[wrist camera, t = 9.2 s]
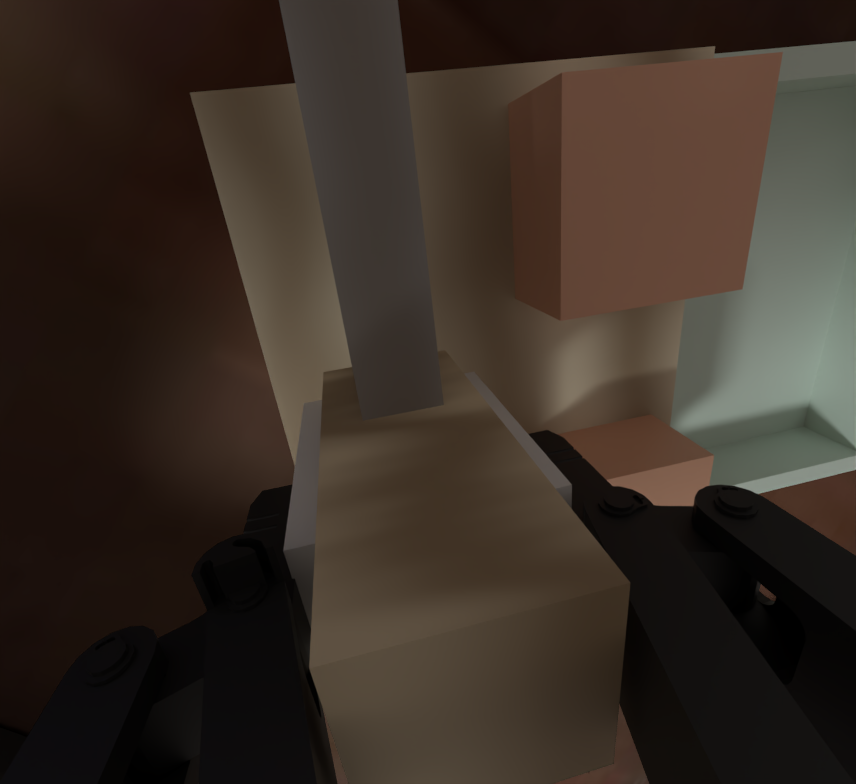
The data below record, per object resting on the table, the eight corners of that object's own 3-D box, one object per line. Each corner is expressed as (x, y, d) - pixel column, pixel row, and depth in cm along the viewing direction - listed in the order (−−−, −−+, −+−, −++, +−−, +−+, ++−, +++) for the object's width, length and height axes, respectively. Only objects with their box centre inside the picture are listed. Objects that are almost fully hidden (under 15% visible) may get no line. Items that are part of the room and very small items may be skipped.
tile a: (524, 551, 21) (559, 613, 18) (520, 442, 18) (559, 490, 15) (640, 523, 22) (693, 577, 18) (651, 414, 19) (714, 455, 16)
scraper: (383, 632, 19) (429, 1022, 10) (254, 69, 11) (-134, -623, 2) (472, 608, 19) (595, 957, 10) (413, 55, 11) (733, -529, 2)
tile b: (515, 298, 16) (560, 321, 13) (508, 104, 14) (561, 72, 10) (665, 274, 17) (742, 289, 14) (683, 86, 14) (782, 52, 11)
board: (335, 540, 25) (336, 615, 20) (228, 124, 16) (189, 92, 12) (601, 479, 27) (657, 534, 22) (621, 85, 19) (715, 46, 14)
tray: (601, 479, 27) (644, 521, 23) (621, 85, 19) (692, 56, 15) (801, 433, 29) (869, 466, 25) (898, 58, 21) (1019, 25, 17)
